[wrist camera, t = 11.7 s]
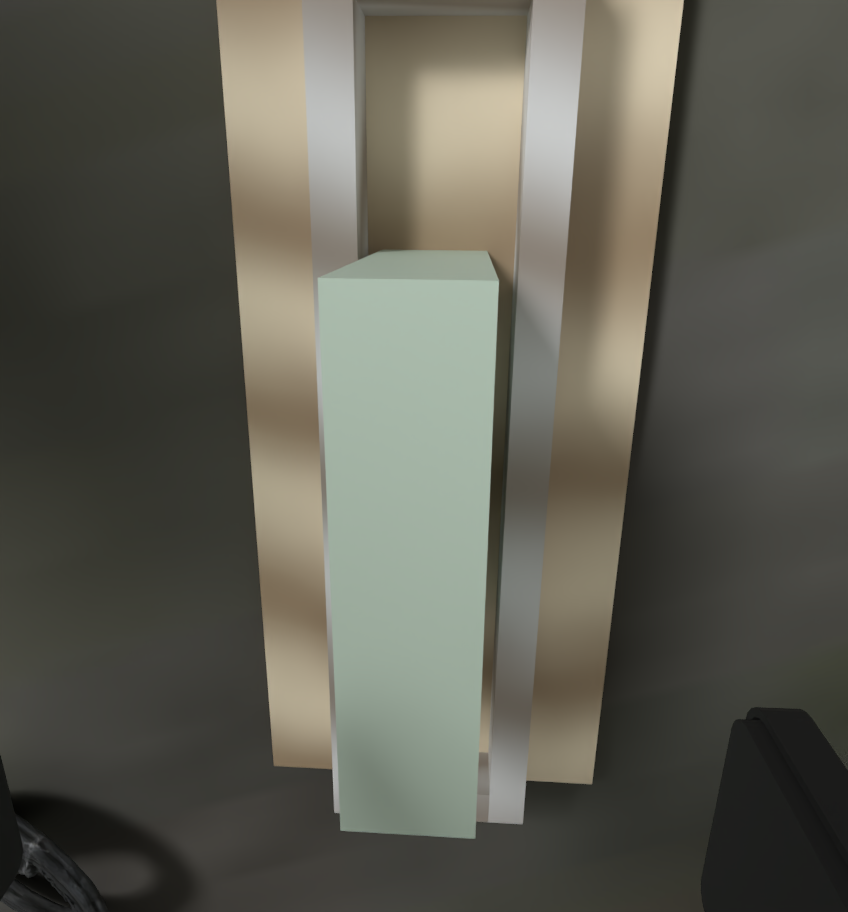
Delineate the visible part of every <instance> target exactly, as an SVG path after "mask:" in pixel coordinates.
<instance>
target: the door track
mask: <svg viewBox="0 0 848 912" xmlns="http://www.w3.org/2000/svg"><path fill="white" fill-rule="evenodd" d="M216 1H217V15H218V28H219V41H220V55H221V68H222V81H223V95H224V108H225V121H226V135H227V148H228V161H229V175H230V188H231V201H232V215H233V228H234V241H235V255H236V268H237V281H238V295H239V308H240V321H241V335H242V348H243V361H244V375H245V388H246V401H247V415H248V428H249V441H250V455H251V468H252V481H253V495H254V508H255V521H256V534H257V548H258V561H259V574H260V588H261V601H262V614H263V628H264V641H265V654H266V668H267V681H268V694H269V708H270V721H271V734H272V748H273V761H274V766H286V767H303V768H320V769H333V793H334V813H340V806H339V782H338V758H337V734H336V710H335V686H334V662H333V638H332V614H331V590H330V566H329V542H328V517H327V493H326V469H325V445H324V421H323V397H322V373H321V349H320V325H319V301H318V278H319V277H321V276H323V275H326V274H328V273H330V272H333V271H335V270H337V269H339V268H342V267H344V266H346V265H348V264H351V263H353V262H355V261H358V260H360V259H362V258H364V257H367V256H369V255H371V254H374V253H376V252H378V251H380V250H462V251H487V252H488V254H489V257H490V259H491V262H492V264H493V267H494V269H495V272H496V274H497V277H498V279H499V292H498V316H497V339H496V363H495V386H494V410H493V433H492V457H491V480H490V504H489V527H488V550H487V574H486V597H485V621H484V644H483V668H482V691H481V715H480V738H479V762H478V785H477V808H476V822H492V823H509V824H523V814H524V801H525V788H526V781H544V782H561V783H578V784H592V780H593V772H594V763H595V755H596V746H597V738H598V729H599V721H600V712H601V704H602V695H603V686H604V678H605V669H606V661H607V652H608V644H609V635H610V627H611V618H612V610H613V601H614V592H615V584H616V575H617V567H618V558H619V550H620V541H621V533H622V524H623V516H624V507H625V499H626V490H627V481H628V473H629V464H630V456H631V447H632V439H633V430H634V422H635V413H636V405H637V396H638V387H639V379H640V370H641V362H642V353H643V345H644V336H645V328H646V319H647V311H648V302H649V294H650V285H651V276H652V268H653V259H654V251H655V242H656V234H657V225H658V217H659V208H660V200H661V191H662V182H663V174H664V165H665V157H666V148H667V140H668V131H669V123H670V114H671V106H672V97H673V89H674V80H675V71H676V63H677V54H678V46H679V37H680V29H681V20H682V12H683V3H684V0H216Z"/></svg>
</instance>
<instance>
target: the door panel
mask: <svg viewBox="0 0 848 912" xmlns="http://www.w3.org/2000/svg"><path fill="white" fill-rule="evenodd" d="M498 292H499V279H498V277H497V274H496V272H495V269H494V267H493V264H492V262H491V259H490V257H489V254H488V252H487V251H462V250H380V251H378V252H376V253H374V254H371V255H369V256H367V257H364V258H362V259H360V260H358V261H355V262H353V263H351V264H348V265H346V266H344V267H342V268H339V269H337V270H335V271H333V272H330V273H328V274H326V275H323V276H321V277H319V278H318V301H319V325H320V349H321V373H322V397H323V421H324V445H325V469H326V493H327V517H328V542H329V566H330V590H331V614H332V638H333V662H334V686H335V710H336V734H337V758H338V782H339V806H340V830H341V831H354V832H371V833H387V834H404V835H420V836H437V837H454V838H470V839H475V832H476V808H477V785H478V762H479V738H480V715H481V691H482V668H483V644H484V621H485V597H486V574H487V550H488V527H489V504H490V480H491V457H492V433H493V410H494V386H495V363H496V339H497V316H498Z"/></svg>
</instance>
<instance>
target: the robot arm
mask: <svg viewBox="0 0 848 912" xmlns="http://www.w3.org/2000/svg"><path fill="white" fill-rule="evenodd" d="M22 857H23V844H22V840H21V836H20V832H19V828H18V824H17V820H16V816H15V812H14V808H13V804H12V800H11V796H10V792H9V788H8V784H7V780H6V776H5V772H4V768H3V764H2V760H1V756H0V901H1V899H2V898H3V896H4V894H5V893H6V891H7V890H8V888H9V887H10V885H11V884H12V882H13V881H14V879H15V877H16V875H17V873H18V871H19V868H20V865H21V861H22ZM701 894H702V902H703V907H704V911H705V912H848V770H847V769H846V767H845V766H844V765H843V763H842V762H841V760H840V759H839V757H838V756H837V754H836V753H835V751H834V750H833V749H832V747H831V746H830V744H829V743H828V741H827V740H826V738H825V737H824V735H823V734H822V733H821V731H820V730H819V728H818V727H817V725H816V724H815V722H814V721H813V719H812V718H811V717H810V716H809V715H808V714H807V712H805V711H803V710H801V709H783V708H758V707H755V708H751V709H750V711H749V712H748V714H747V717H746V720H743V719H738V720H736V721H735V722H734V723H733V726H732V729H731V734H730V739H729V744H728V749H727V754H726V759H725V764H724V769H723V774H722V779H721V784H720V789H719V794H718V799H717V803H716V808H715V813H714V818H713V823H712V828H711V833H710V838H709V843H708V848H707V853H706V858H705V863H704V868H703V873H702V879H701Z"/></svg>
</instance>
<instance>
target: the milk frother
mask: <svg viewBox="0 0 848 912" xmlns="http://www.w3.org/2000/svg"><path fill="white" fill-rule="evenodd" d="M15 816H16V820H17V824H18V828H19V832H20V836H21V840H22V844H23V857H22V861H21V865H20V868H19V871H18V873H17V874H21V875H26V877H27V878H30V877H34V876H35V875H36V874H37V873H38V872H40V873H41V874H42V875H43V876H44V877H45V878H46V879H47V880H48V881H49V882H50V883H51V885H52V886H53V887H54V888H55V889H56V890H57V891H58V893H59V894H60V895H62V896H63V898H64V900H65V902H66V901H68V902H69V904H70V906H71V908H70V907H64V906H62V905H60V904H57V903H55V902H53V901H51V900H49V899H47V898H45V897H43V896H41V895H39V894H38V893H36V892H34V891H32V890H30V889H29V888H28V887H26V886H25V885H23V884H22V883H21V882H19V881H18V880H16V879H14V881H13V882H12V884H11V885H10V887H9V888H8V890H7V891H6V893H5V894H4V896H3V898H2V899H1V901H2V902H3V903H5V904H6V905H7V906H9V907H10V908H12V909H13V910H16V911H18V912H108V909H107V907H106V904H105V902H104V900H103V898H102V897H101V895H100V893H99V891H98V890H97V888H96V887H95V885H94V884H93V882H92V881H91V880H90V878H89V877H88V876H87V875H86V874H85V873H84V872H83V871H82V870H81V869H80V868H79V867H78V866H77V864H76V863H75V862H74V861H73V860H72V859H71V858H70V857H69V856H68V855H67V854H66V853H65V852H64V851H63V850H62V849H61V848H59V847H58V846H57V845H56V844H55V843H54V842H53V841H52V840H50V839H49V838H48V837H47V836H46V835H45V834H44V833H42V832H41V831H40V830H38V829H37V828H36V827H34V826H33V825H32V824H30V823H29V822H27V821H26V820H25V819H23V818H22V817H20V816H19V815H17V814H15Z"/></svg>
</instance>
